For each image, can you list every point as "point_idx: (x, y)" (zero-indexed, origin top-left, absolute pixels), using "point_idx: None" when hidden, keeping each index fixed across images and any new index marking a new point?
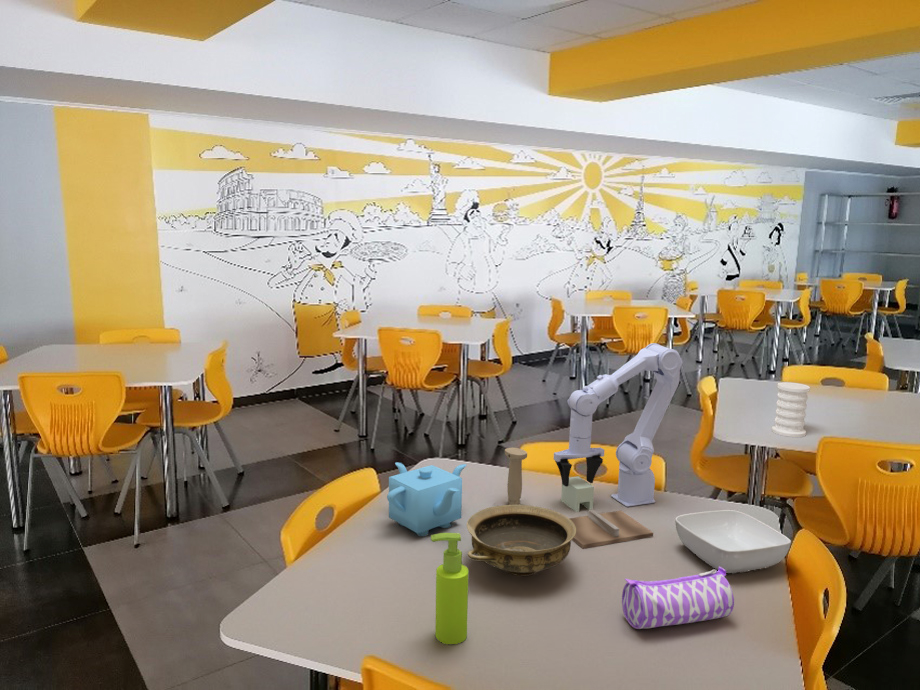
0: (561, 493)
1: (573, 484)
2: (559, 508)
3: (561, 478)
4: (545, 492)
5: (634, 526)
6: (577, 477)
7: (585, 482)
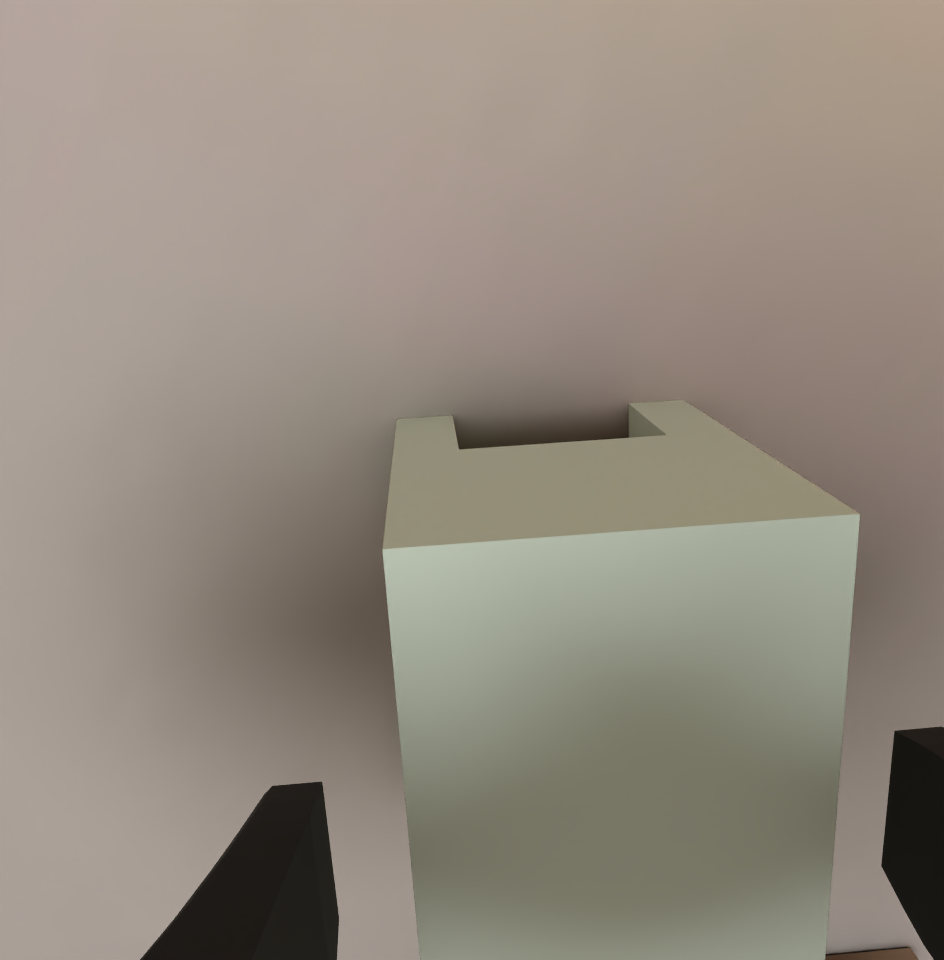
0: (393, 454)
1: (475, 914)
2: (258, 659)
3: (221, 861)
4: (278, 12)
5: None
6: (785, 583)
7: (783, 871)
